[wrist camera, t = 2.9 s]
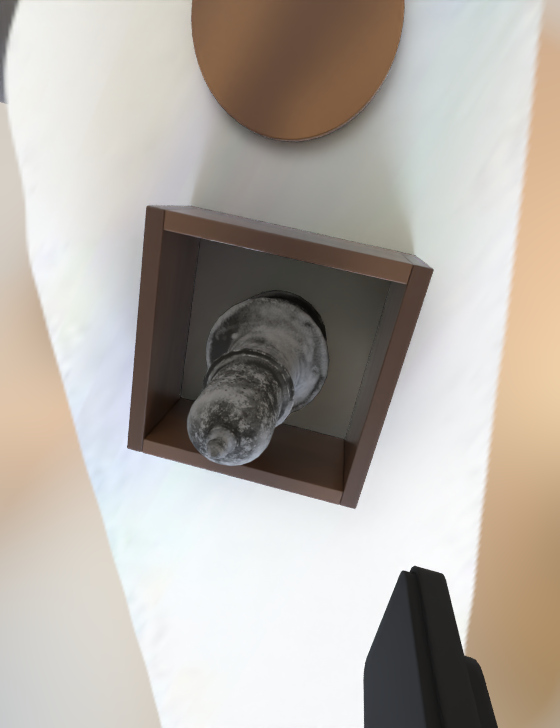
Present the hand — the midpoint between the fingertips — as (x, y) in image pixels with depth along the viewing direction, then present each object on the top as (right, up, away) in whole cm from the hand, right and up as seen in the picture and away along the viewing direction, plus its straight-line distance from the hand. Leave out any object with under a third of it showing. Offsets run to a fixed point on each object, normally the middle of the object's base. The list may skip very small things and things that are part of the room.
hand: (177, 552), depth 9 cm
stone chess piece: (+2, +5, +15) cm, 16 cm away
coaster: (+3, +19, +9) cm, 21 cm away
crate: (+2, +5, +14) cm, 16 cm away
